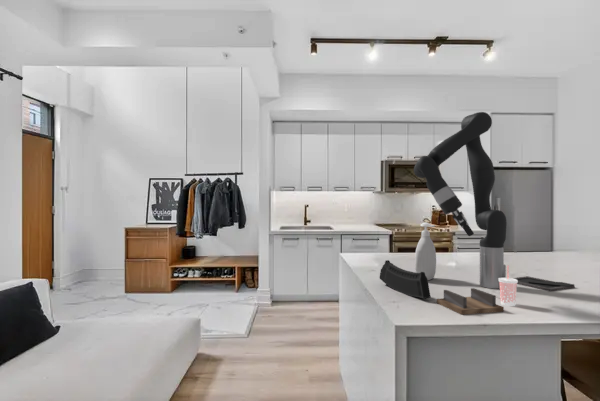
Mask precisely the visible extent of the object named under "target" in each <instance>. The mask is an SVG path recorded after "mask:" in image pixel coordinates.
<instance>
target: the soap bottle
mask: <svg viewBox="0 0 600 401" xmlns="http://www.w3.org/2000/svg"><path fill="white" fill-rule="evenodd" d="M419 226H420V227H422V228H424V229H423V230H422V231H421V236H420V239H419V240H418V242H417V245H416V248H415V253H414V272H415V273H420V272H424V273H425V276H426V277H427V280H428V281H430V280H433V279H434V278H435V275H436V272H437V253H436V247H435V244H434V241H433V240H432V238H431V234H430V231H429V230H428V227H430V228H431V227H432V228H435V227H436V225H435V224H431V223H429V222H426V221H425V222H424V221H423V222H422V223H421V224H420V225H419Z"/></svg>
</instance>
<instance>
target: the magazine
mask: <svg viewBox="0 0 600 401" xmlns="http://www.w3.org/2000/svg"><path fill="white" fill-rule="evenodd" d="M379 279H380V281H382V282H383V283H384V284H385V286H388V287H389V288H391V289H393V290H394V291H396V292H399V293H401V294H403V295H406V296H410V297H413V298H414V297H416V298H420V299H426V300H428V299H431V292H430V287H429V286H430V285H429V280H427V277H426V276H425V273H424V272H420V273H416V272H415V271H410V270H405V269H403V268H401V267H398V266H397V265H394V263H392V262H391V261H390V260H389V259H388V260H385V261H384V264H383V265H382V267H381V268H380V272H379Z"/></svg>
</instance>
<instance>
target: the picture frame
mask: <svg viewBox="0 0 600 401" xmlns="http://www.w3.org/2000/svg"><path fill="white" fill-rule="evenodd" d="M512 278H513V279H517V280H518V283H517V285H519V286H524V287H527V288H528V287H529V288H533V289H537V290H542V291H546V292H556V291H562V290H569V289H575V286H576V285H575V284H574V283H567V282H563V281H552V280H548V279H543V278H538V277H532V276H529V275H528V276H518V277H512Z"/></svg>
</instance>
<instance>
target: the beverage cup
mask: <svg viewBox="0 0 600 401" xmlns="http://www.w3.org/2000/svg"><path fill="white" fill-rule="evenodd" d="M506 268H507V269H506V278H498V279H499V280H498V281H499V285H500V288H499V296H500V298H499V299H500V305H501V306H505V307H515V306H516V304H517V303H516V301H517V286H518V284H517V283H518V280H517V279H513V278H514V277H512V278H511V277H510V276H509V272H510V270H509V269H510V265H508V264H507V266H506Z"/></svg>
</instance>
